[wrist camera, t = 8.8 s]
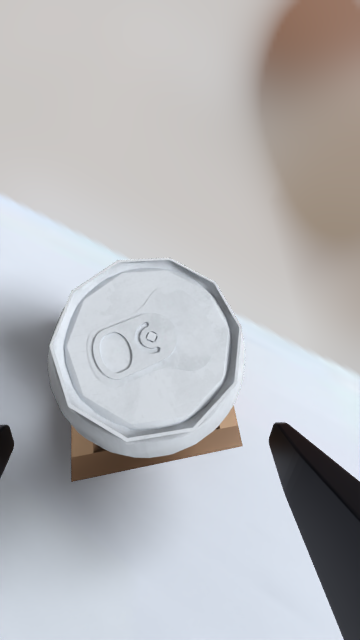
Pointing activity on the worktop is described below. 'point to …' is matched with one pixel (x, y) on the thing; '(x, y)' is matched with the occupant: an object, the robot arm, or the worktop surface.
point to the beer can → (146, 358)
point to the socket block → (99, 461)
